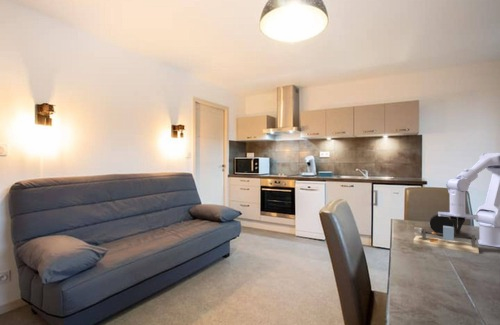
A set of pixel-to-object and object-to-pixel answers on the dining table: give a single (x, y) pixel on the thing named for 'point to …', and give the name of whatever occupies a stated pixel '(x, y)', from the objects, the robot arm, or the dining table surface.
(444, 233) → the light blue block
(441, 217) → the black cylinder
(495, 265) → the dining table surface
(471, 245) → the cord board
